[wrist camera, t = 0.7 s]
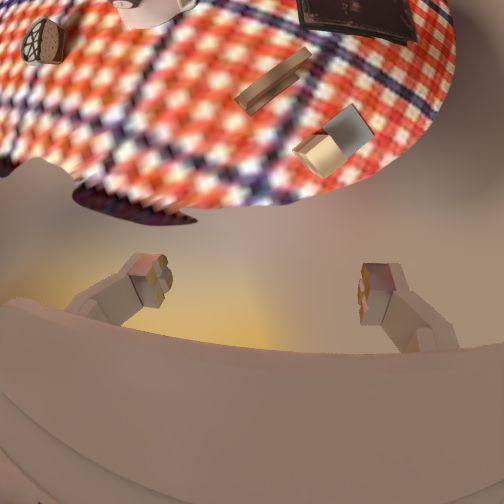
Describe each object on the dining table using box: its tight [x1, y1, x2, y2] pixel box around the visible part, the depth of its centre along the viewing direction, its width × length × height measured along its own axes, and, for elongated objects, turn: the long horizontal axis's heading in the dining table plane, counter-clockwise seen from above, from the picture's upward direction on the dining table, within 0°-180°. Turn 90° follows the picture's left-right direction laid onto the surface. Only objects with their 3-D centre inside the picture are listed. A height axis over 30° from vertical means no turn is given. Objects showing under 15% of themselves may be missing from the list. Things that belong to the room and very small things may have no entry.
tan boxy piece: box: [292, 134, 348, 179], centre depth 44 cm, size 5×5×11 cm
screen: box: [234, 47, 312, 116], centre depth 37 cm, size 12×4×14 cm, turn 132°
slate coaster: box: [321, 104, 374, 158], centre depth 47 cm, size 8×8×1 cm
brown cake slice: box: [20, 16, 66, 66], centre depth 30 cm, size 12×6×10 cm, turn 1°
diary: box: [296, 0, 418, 47], centre depth 33 cm, size 19×25×5 cm
